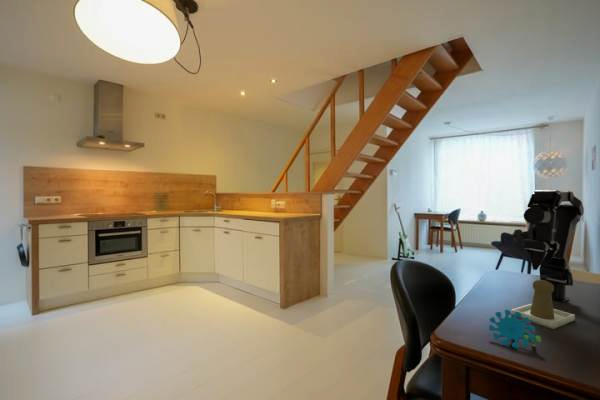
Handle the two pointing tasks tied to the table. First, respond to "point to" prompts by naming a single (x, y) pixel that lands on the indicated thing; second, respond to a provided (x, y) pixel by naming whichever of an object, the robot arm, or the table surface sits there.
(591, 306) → the table surface
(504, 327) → the gear
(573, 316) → the tray
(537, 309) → the cork
